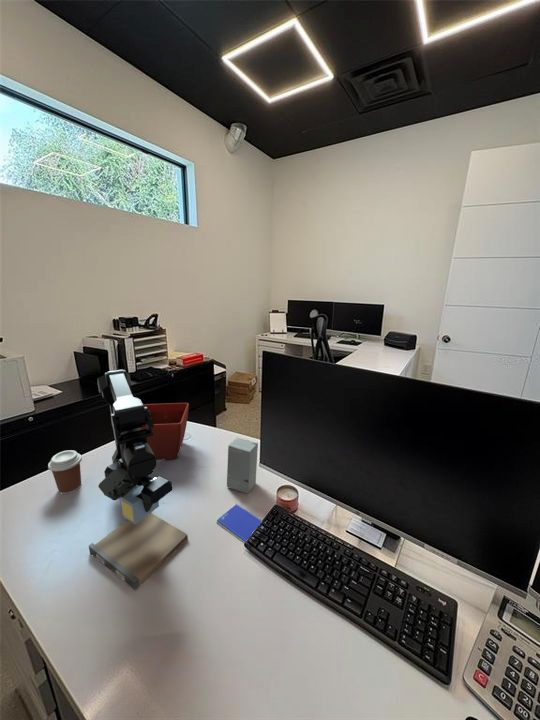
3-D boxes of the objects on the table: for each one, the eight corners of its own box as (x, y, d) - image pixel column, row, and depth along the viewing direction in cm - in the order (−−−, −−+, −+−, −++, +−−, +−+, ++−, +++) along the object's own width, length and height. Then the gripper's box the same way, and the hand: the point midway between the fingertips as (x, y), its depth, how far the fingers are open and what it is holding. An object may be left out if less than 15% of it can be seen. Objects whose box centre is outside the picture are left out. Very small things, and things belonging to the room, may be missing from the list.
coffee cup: (66, 500, 93) (59, 467, 90) (47, 492, 96) (39, 460, 93) (92, 482, 101) (87, 451, 98) (74, 475, 104) (68, 445, 101)
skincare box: (226, 487, 100) (225, 446, 95) (236, 475, 106) (236, 435, 102) (249, 494, 97) (249, 452, 92) (258, 481, 103) (258, 441, 99)
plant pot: (146, 439, 128) (142, 403, 124) (191, 437, 130) (189, 402, 126) (131, 466, 110) (126, 425, 105) (184, 464, 112) (181, 423, 107)
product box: (146, 499, 80) (144, 480, 79) (159, 506, 78) (157, 486, 76) (122, 516, 74) (119, 496, 73) (135, 524, 72) (132, 504, 70)
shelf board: (89, 554, 75) (87, 546, 74) (143, 512, 89) (143, 505, 88) (134, 591, 66) (133, 583, 66) (187, 538, 80) (187, 531, 79)
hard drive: (216, 519, 85) (248, 543, 78) (236, 503, 91) (268, 523, 84) (216, 524, 86) (248, 548, 78) (236, 507, 92) (268, 528, 85)
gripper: (78, 458, 70) (88, 513, 74) (129, 486, 61) (137, 547, 65) (122, 437, 79) (128, 487, 83) (171, 459, 70) (176, 513, 74)
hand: (141, 507), depth 76 cm, fingers closed on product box, 5 cm apart
